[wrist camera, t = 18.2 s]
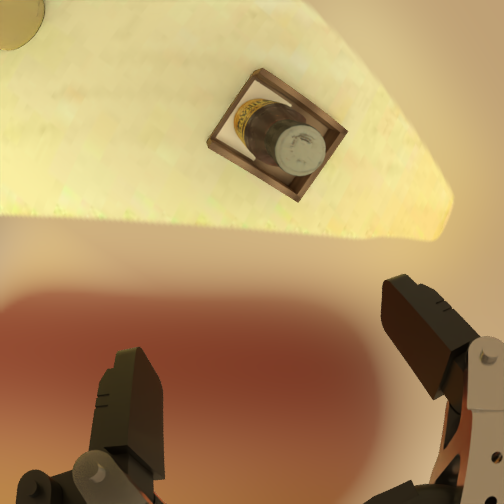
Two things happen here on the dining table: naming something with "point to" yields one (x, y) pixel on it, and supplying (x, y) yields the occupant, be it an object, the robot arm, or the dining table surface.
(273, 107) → the sauce bottle
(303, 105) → the box
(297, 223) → the dining table surface
